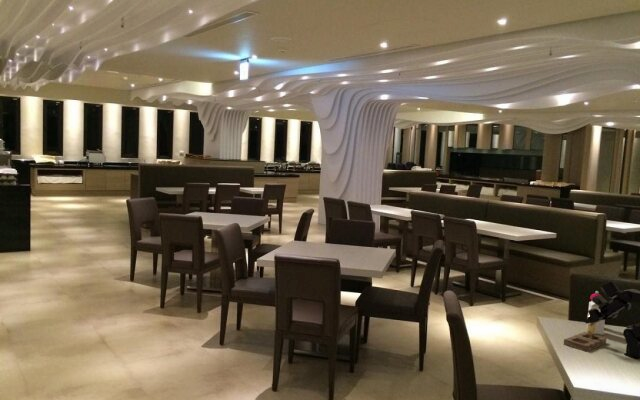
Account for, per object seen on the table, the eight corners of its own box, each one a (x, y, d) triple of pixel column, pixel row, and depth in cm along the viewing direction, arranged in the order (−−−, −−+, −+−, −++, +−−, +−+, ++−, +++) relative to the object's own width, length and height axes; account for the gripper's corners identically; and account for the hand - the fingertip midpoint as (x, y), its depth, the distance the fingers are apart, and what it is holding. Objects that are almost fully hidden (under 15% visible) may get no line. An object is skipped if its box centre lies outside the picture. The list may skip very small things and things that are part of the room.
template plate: (584, 336, 282) (584, 331, 282) (605, 343, 273) (606, 338, 273) (563, 344, 268) (564, 339, 268) (586, 351, 259) (586, 346, 259)
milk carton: (588, 333, 288) (592, 298, 287) (586, 329, 295) (589, 295, 293) (603, 335, 286) (607, 300, 285) (600, 331, 293) (604, 296, 291)
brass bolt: (597, 343, 271) (600, 317, 270) (587, 343, 272) (589, 316, 270) (592, 340, 276) (595, 314, 275) (582, 339, 277) (585, 314, 275)
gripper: (614, 289, 273) (590, 305, 283) (594, 293, 263) (570, 309, 273) (628, 309, 267) (604, 324, 277) (608, 313, 257) (584, 329, 267)
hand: (590, 321), depth 274 cm, fingers open, 9 cm apart
